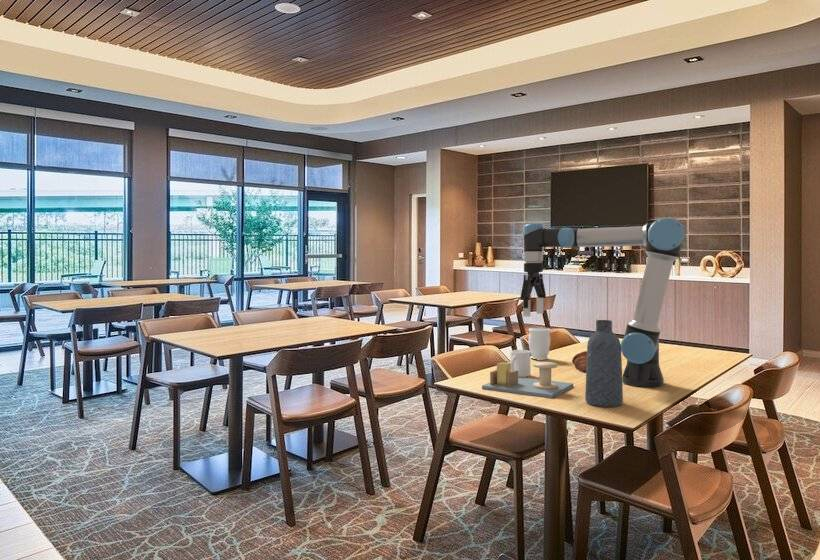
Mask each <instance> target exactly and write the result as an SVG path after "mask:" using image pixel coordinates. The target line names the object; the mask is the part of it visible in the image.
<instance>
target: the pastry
mask: <svg viewBox="0 0 820 560" xmlns="http://www.w3.org/2000/svg"><path fill="white" fill-rule="evenodd" d="M571 362H572V364H573V365H574V367H575V369H576V368H577V369H576V370H578V371H579V372H581V373H585V374H586V364H587V350H586V351H582V352H579V353H577V354H575V355H574V356H573V358H572V360H571Z"/></svg>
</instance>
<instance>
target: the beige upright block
mask: <svg viewBox="0 0 820 560" xmlns="http://www.w3.org/2000/svg"><path fill="white" fill-rule="evenodd" d="M496 370H497V384H498V385H507V374H508V373H510V372H511V362H504V361H502V362H501V361H500V362H498V363H496Z"/></svg>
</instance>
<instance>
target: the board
mask: <svg viewBox="0 0 820 560" xmlns="http://www.w3.org/2000/svg"><path fill="white" fill-rule="evenodd" d="M558 365H559V364H558V363H556V362H552V361H537V362H536V361H535V362H533V363H532V366H533V367H535V368H538V369H539V373H538V375H539V376H538V377H539V378H529V377H518V370H515V371H513V372H510V373H508V374H507V385H498V384H497V369H494V370H492V371H489V375H490V376H489V382H487V383H485V384H483V385H482V386H481V389H483V390H488V389H490V390H489V391H496V392H503V391H504V393H510V392H512V393H511V394H519V395H527V396H533V397H534V396H535V397H541V398H548V399H549V398H550V399H554V398H555V397H557V396H559V395H561V394H562V393H564V392H566V391H568V390H570V389H572V388H573V387H574V382H573V383H572V382H566V381H554V380H552V369H555V368H558Z"/></svg>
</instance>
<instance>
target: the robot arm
mask: <svg viewBox="0 0 820 560" xmlns="http://www.w3.org/2000/svg"><path fill="white" fill-rule="evenodd" d="M686 234H687V233H686V229H685V227H684V225H683V223H682V222H680V220H678V219H676V218H674V217H668V216H664V217H661V218H658V219H656V220H655V221H654V222H651V223H650V222H649V223H647V222H646V223H645V225H642V226H641V225H639V226H638V225H637V226H618V227H617V226H615V227H614V226H613V227H594V228H593V227H592V228H571V227H554V228H552V227H550V228H544V225H543V224H542V223H527V224H525V225H524V227H523V255H522V257H523V261H524V262H525V263H523V272H524V273H527V274H524V275H523V282H522V288H521V292H520V301H521V300H522V301H523V302H522V304H523V305H522V307H523V308H522V315H523V317H528V318H529V317H531V299H530V298H531V295H532V291H533V290H535V294H536V296H537V297H536V314H539V315H540V314H541V315H543V314H544V299H545V298H546V288H545V284H544V279H543V278H544V276H543V273H542V272H544V263H543V261H544V248H564V249H570V248H589V247H590V248H591V247H593V248H596V247H597V248H599V247H635V246H636V247H637V246H641V247H642V246H643V247H645V250H644V253H645V254H646V256H647V261H646V265H645V269H644V272H643V273H644V274H643V277H642V281H641V285H640V288H639V289H640V290H639V292H638V293H639V294H638V297H637V301H636V306H635V309H634V314H633V317H632V320H630V321H629V322H627V324H626V327H625V332H624V335H623V338H622V340H620V344H621V355H622V356H623V357H624V358H625V360H626V365H625V367H624V371H623V372H622V384H626V385H629V386H635V387H641V388H642V387H643V388H652V387H653V388H654V387H661V386H664V383H665V377H664V376H663V375H664V374H663V373H662V372H663V371H662V370H661V367H660V333H661V329H660V327H659V326H658V325H659V324H658V322H659V319H660V315H661V311H662V307H663V304H664V299H665V296H666V292H667V287H668V284H669V279H670V276H671V271H672V268H673V263H674V262H675V261H677V260H678V259H679V258H680V255H681V251H682V247H683V244H684V242H685V239H686ZM533 288H534V289H533Z"/></svg>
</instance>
